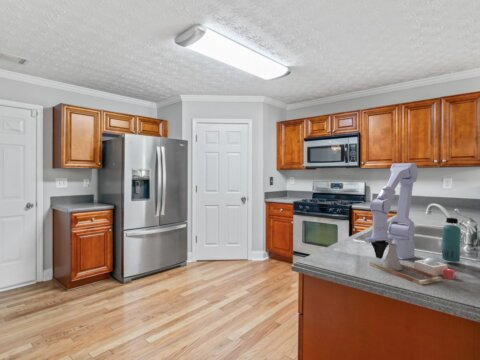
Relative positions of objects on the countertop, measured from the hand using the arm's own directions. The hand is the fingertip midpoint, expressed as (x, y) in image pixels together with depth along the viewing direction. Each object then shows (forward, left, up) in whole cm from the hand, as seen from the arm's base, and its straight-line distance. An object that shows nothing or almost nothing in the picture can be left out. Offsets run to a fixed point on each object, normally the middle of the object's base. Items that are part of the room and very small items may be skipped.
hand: (379, 257), depth 124 cm
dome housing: (-11, +15, -2) cm, 19 cm away
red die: (-11, +22, -2) cm, 25 cm away
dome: (-11, +15, -2) cm, 19 cm away
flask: (0, +6, -3) cm, 7 cm away
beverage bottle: (-30, +11, -3) cm, 32 cm away
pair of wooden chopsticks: (0, +11, -2) cm, 11 cm away
